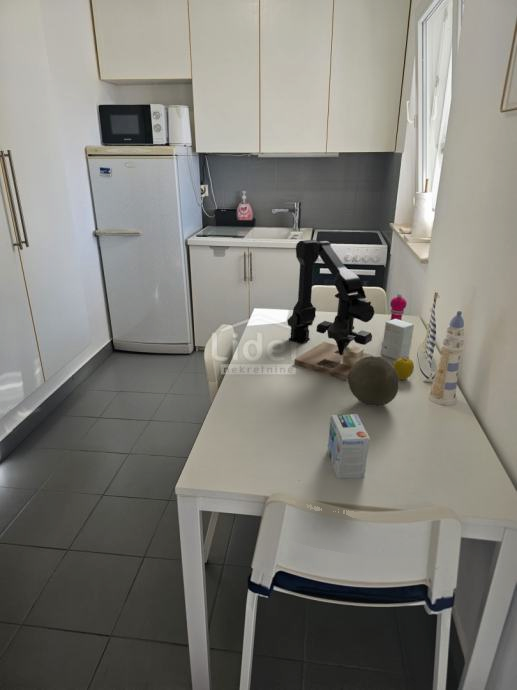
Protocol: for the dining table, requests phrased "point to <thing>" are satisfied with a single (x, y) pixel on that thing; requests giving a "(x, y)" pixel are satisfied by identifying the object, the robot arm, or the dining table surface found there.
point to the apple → (404, 367)
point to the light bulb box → (348, 446)
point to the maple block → (352, 355)
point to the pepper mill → (397, 307)
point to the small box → (397, 339)
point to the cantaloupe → (373, 381)
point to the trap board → (326, 360)
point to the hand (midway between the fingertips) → (341, 354)
